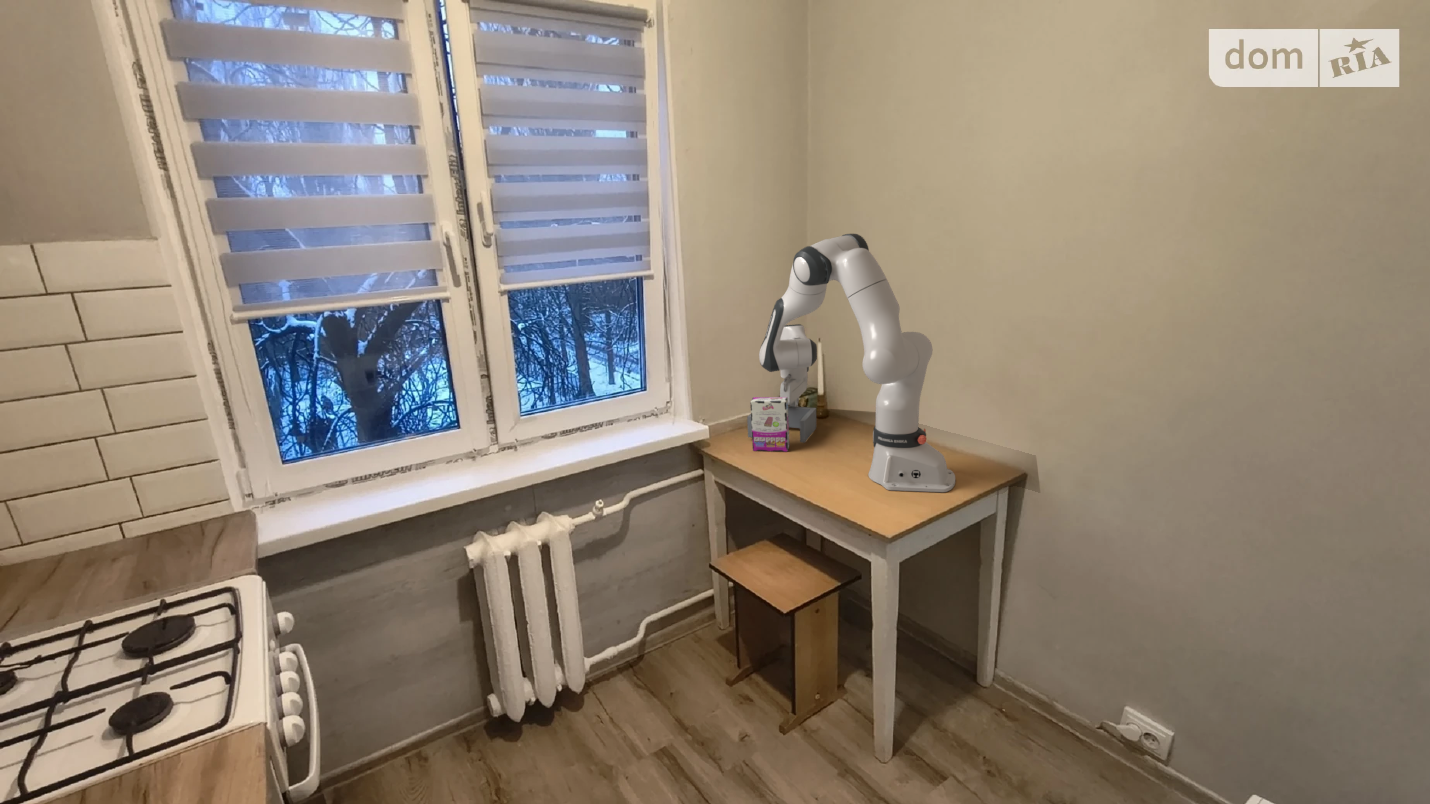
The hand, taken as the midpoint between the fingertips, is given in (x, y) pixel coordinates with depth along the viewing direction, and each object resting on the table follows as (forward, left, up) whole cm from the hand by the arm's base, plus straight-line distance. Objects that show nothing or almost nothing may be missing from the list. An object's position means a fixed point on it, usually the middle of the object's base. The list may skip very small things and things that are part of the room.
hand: (794, 410), depth 219 cm
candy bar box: (0, +25, -5) cm, 25 cm away
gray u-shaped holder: (0, +13, -5) cm, 14 cm away
